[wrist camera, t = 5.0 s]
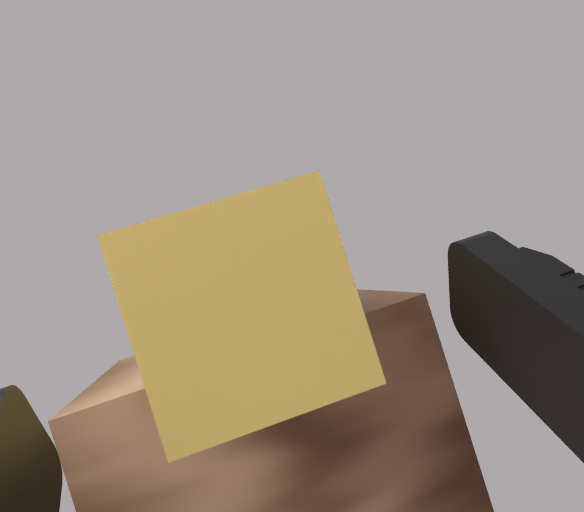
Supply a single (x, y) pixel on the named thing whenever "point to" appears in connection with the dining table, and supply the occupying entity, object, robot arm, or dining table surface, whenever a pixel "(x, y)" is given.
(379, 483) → the stand
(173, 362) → the bar
